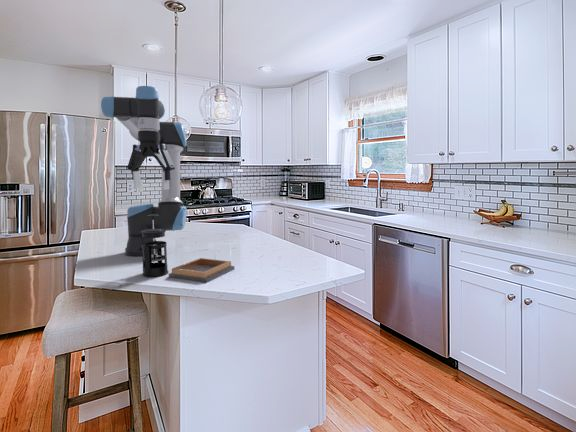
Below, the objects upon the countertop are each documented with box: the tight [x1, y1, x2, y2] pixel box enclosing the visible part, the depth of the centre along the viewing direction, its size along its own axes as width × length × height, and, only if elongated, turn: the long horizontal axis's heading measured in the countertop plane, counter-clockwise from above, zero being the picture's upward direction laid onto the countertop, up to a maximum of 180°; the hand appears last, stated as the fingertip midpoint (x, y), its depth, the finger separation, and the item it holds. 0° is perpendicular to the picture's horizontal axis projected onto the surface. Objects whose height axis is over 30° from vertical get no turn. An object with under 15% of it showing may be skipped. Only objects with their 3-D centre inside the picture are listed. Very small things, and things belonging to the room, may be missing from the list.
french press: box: [141, 214, 169, 278], centre depth 136 cm, size 12×9×23 cm
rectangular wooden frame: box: [168, 257, 235, 283], centre depth 139 cm, size 17×19×3 cm
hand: (151, 189), depth 133 cm, fingers open, 13 cm apart
